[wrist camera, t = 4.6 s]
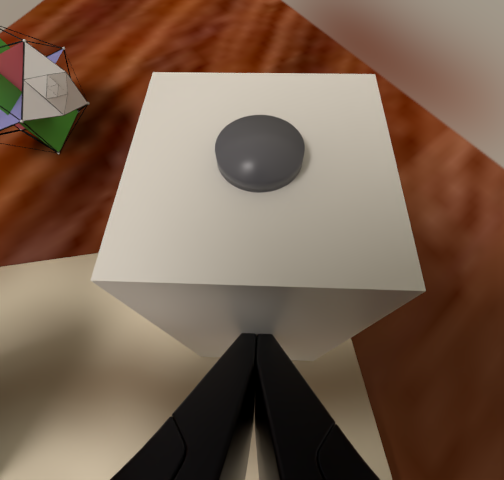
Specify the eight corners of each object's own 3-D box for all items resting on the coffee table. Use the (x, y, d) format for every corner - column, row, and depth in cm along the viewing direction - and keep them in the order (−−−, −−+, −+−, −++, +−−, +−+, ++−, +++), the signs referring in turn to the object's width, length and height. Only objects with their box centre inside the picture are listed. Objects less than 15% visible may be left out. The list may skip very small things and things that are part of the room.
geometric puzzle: (-72, 142, 18) (-112, 32, 13) (-20, 71, 22) (-32, -44, 16) (60, 188, 22) (77, 120, 16) (88, 122, 25) (112, 44, 19)
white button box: (313, 361, 13) (436, 284, 4) (200, 356, 13) (79, 273, 4) (308, 257, 16) (379, 61, 6) (212, 254, 16) (148, 59, 7)
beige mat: (406, 556, 11) (418, 570, 10) (-266, 695, 10) (-317, 725, 9) (313, 230, 18) (316, 221, 17) (-101, 290, 16) (-122, 284, 15)
